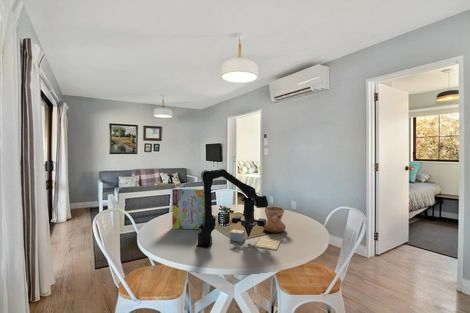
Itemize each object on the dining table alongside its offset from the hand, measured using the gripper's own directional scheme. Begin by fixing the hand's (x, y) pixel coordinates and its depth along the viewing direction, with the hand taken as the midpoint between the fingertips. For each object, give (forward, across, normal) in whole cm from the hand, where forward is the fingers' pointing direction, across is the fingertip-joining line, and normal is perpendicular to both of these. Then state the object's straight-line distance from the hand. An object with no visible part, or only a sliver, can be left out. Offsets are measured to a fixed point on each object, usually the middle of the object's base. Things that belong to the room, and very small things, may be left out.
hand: (248, 236), depth 136 cm
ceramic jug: (+3, +10, +24) cm, 26 cm away
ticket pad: (+3, +11, 0) cm, 11 cm away
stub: (+3, -7, 0) cm, 7 cm away
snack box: (+3, -42, +9) cm, 43 cm away
